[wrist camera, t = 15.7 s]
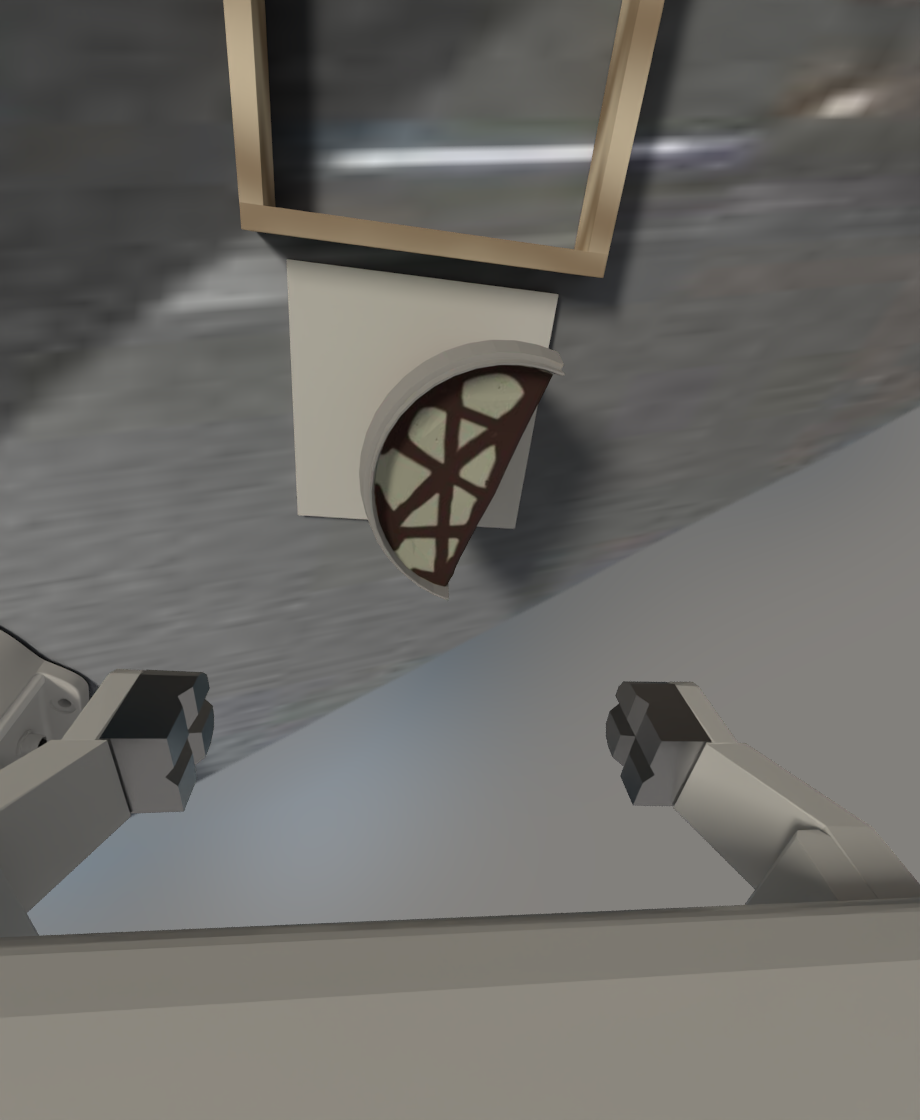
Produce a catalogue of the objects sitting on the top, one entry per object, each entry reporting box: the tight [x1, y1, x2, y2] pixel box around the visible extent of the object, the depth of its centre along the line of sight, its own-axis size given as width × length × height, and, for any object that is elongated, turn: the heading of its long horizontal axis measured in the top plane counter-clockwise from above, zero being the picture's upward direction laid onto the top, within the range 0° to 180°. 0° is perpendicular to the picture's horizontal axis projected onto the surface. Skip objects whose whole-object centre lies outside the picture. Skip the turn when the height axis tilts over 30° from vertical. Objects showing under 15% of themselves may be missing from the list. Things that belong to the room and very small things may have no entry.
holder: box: [223, 0, 665, 278], centre depth 21 cm, size 17×17×2 cm
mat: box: [287, 259, 559, 529], centre depth 30 cm, size 14×14×1 cm
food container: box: [359, 340, 565, 600], centre depth 26 cm, size 12×6×10 cm, turn 156°
